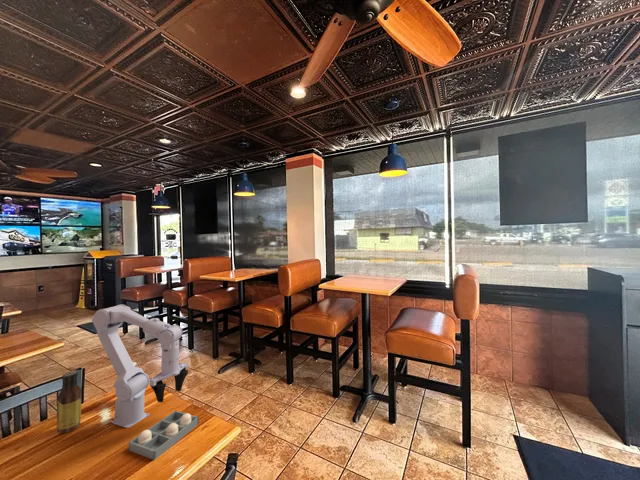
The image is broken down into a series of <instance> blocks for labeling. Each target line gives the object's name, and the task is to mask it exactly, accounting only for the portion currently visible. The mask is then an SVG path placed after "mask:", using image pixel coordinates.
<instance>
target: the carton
mask: <svg viewBox="0 0 640 480" xmlns="http://www.w3.org/2000/svg"><path fill="white" fill-rule="evenodd" d="M186 413H187V412H182V411H177V410H173V412H171V413H170V414H168V415H167V416H166V417H164V418H163V419H161V420H159V421H158V422H157V423H155V424H154V425H152V426H151V427H149V428H147V430H150V431H151V433H152V439H151V440H149V441H148V442H147V443H145V444H144V445H143V446H142V445H140V444H138V438H139V435H137V436H135V438H133V439H132V440H130V441H128V451H130V452H132V453H135V454H137V455H139V456H143V457H145V458H147V459H150V460H153V461H156V460H157V459H158V458H159V457H160V456H162V454H164V453H165V452H166V451H168V450H169V449H170V448H171V447H172V446H174V445H175V444H176V443H177V442H178V441H180V440H182V438H184V437H185V436H186V435H187V434H188V433H189V432H191V431H192V430H194V429H195V428H196V427H197V426H198V425H200V424H199V421H200V417H199V416H196V415H193V414H190V415H191V422H190V423H189V424H188V425H187V426H181V425H180V419H181V417H182V416H183V415H184V414H186ZM172 423H176V424H177V425H178V433H176V434H175V435H174V436H173V437H168V436H166V429H167V427H168V426H169V425H170V424H172Z"/></svg>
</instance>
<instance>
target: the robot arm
mask: <svg viewBox="0 0 640 480" xmlns="http://www.w3.org/2000/svg"><path fill="white" fill-rule="evenodd" d="M124 322H126V323H127V324H130V325H133V326H137V327H139V328H142V332H143V333H144V334H146V335H149V336H151V337H154V338H155V339H157V341H158V342H159V344H160V348H161V361H160V362H161V367H160V369H161V371H160V372H159V373H158V374H157V375H155V376H154V377H153V378H151V379H150V377H149V375H148V374H147V373H145V372H144V370H143V368H141V367H139V366H138V367H135V366H134V364H133V362H134V361H132V359H131V357H130V354H129V353H128V350H127V349H126V347H125V345H124V343H123V341H122V339H121V337H120V335H119V334H118V330H119V328H120V326H122V325H123V323H124ZM91 323H93V325H94V328H95V330H96V334H97V338H98V339H99V341H100V343H101V345H102V347H103V350H104V351H105V353H106V355H107V357H108V359H109V361H110V364H111V365H112V367H113V369H114V371H115V374H116V375H117V378H116V380H115V382H114V384H113V386H114V389H115V396H116V398H117V399H116V401H115V403H114V420H112V421H111V423H112V424H113V425H116V426H119V427H122V428H124V429H125V428H131V427H132V426H134V425H136V424H137V423H139V422H140V421H142V420H143V419H146V418H148V417H149V416H150V415H151V414H150V413H147V412H145V392H146V391H147V387H148V386H150V388H151V389H152V391H153V392H154V394H155V398H156V400H157V401H156V402H158V403H160V404H161V403H163V402H164V399H165V389H166V386H167V383H164V381H165V380H166V379H168V378H171V377H173V376H174V383H175V384H174V388H175V391H177V392H182V388H183V384H184V381H185V379H186V377H187V375H188V373H189V370H187V369H189V363H188V362H183V363H180V339H181V338H182V336H183V333H184V332H183V328H182V327H181V326H180V325H178V324H172V325H171V324H170V323H166V322H164V321H161V320H160V318H158V317H156V318H155V317H153V318H150V319H149V318H148V317H145V316H143V315H141V314H139V313H138V312H136V311H133V310H132V309H131V307H130V306H127V305H126V304H117V305H115V306H110V307H107V308H106V307H105V308H102V309H101V308H100V309H98V310H97V311H96V312H95V313H94V315H93V317H92V319H91ZM130 377H132V378H131V379H129V378H130ZM128 379H129V380H128ZM127 380H128V381H127Z"/></svg>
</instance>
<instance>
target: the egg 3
mask: <svg viewBox="0 0 640 480" xmlns="http://www.w3.org/2000/svg"><path fill="white" fill-rule="evenodd" d="M185 413H186V414H184V415H183V416H182V417H181V419H180V425H181V426H187V425H188V424H189V423H190V422H191V415H192V414H190V413H187V412H185Z"/></svg>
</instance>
